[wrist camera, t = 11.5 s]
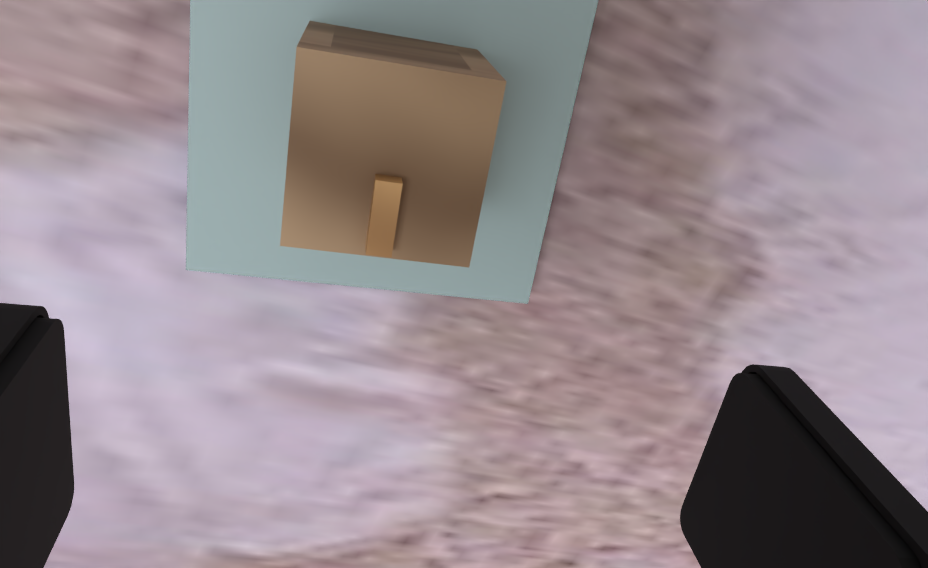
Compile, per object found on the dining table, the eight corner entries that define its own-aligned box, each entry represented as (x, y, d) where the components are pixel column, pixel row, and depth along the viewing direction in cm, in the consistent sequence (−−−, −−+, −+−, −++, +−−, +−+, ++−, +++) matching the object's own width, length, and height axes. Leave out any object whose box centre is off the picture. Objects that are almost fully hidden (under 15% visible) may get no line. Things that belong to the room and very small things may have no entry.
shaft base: (201, -128, 25) (158, -141, 19) (597, -51, 27) (655, -44, 22) (193, 254, 31) (158, 325, 25) (521, 288, 33) (552, 358, 28)
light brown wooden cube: (309, 20, 26) (294, 49, 20) (477, 49, 27) (510, 85, 21) (295, 184, 28) (278, 253, 22) (449, 204, 29) (471, 275, 24)
